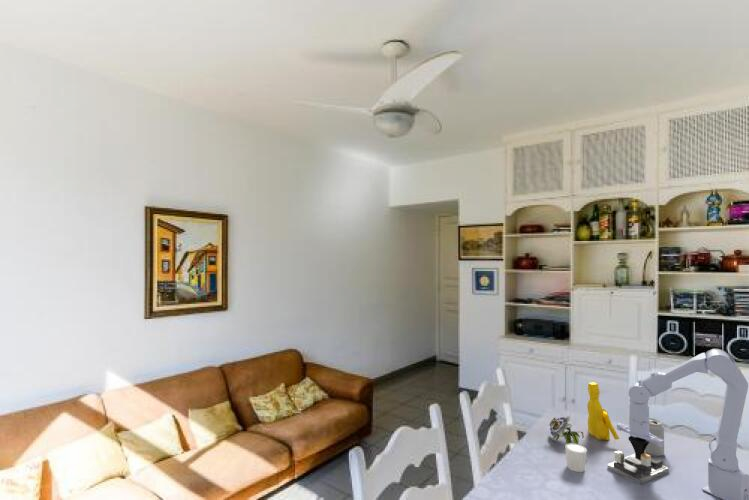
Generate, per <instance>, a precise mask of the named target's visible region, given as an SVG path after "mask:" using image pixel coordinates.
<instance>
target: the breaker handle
mask: <svg viewBox="0 0 749 500" xmlns="http://www.w3.org/2000/svg"><path fill="white" fill-rule="evenodd" d="M641 464H642V465H644V466H647V467H648V466H650V465H651V455H648V454H646V453H643V454H641Z"/></svg>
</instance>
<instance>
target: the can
mask: <svg viewBox="0 0 749 500" xmlns="http://www.w3.org/2000/svg"><path fill="white" fill-rule="evenodd" d="M662 423H663V422H662V421H660V420H658V419H656V418H653V417H649V433H651V434H653V435H655V436H656V437H658V438H660V439H662V440H664V441H665V427H664V426H663V424H662ZM645 450H646V454H648V455H650V456H652V457H661V456H663V455H665V445H664V446H662V447H659V446H657V445H656V444H654V443H651V442H650V443H649V444H648V445H647V447H646V449H645Z"/></svg>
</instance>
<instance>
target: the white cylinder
mask: <svg viewBox="0 0 749 500" xmlns="http://www.w3.org/2000/svg"><path fill="white" fill-rule="evenodd" d="M564 448H565V457H566V465H567V468H568V469H569V470H570V471H574V472H576V473H577V472H578V473H583V472H585V471H586V465H587V454H588V450H587V448H586V447H585V446H583V445H582V444H579V443H578V444H574V442H572V443H570V444H567V443H566V444H565V446H564Z"/></svg>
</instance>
